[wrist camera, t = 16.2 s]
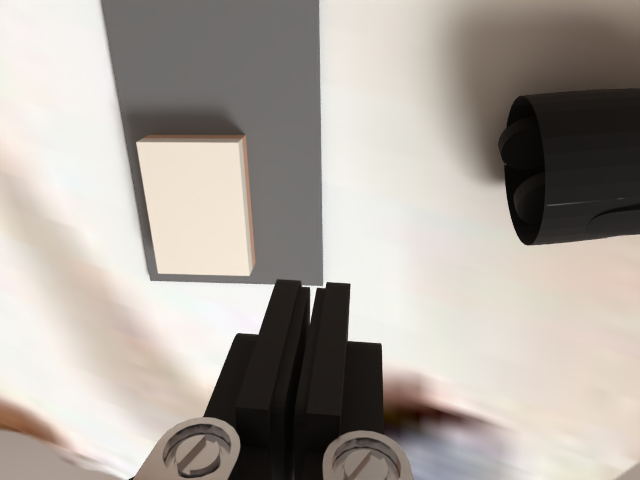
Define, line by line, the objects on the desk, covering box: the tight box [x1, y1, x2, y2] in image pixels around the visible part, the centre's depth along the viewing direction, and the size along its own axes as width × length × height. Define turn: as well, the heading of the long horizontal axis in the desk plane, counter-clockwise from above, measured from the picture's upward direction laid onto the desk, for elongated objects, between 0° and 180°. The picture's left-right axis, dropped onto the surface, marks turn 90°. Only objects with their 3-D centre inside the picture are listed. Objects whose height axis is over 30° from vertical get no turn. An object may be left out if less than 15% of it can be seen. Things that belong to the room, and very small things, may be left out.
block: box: [136, 135, 255, 276], centre depth 37 cm, size 10×2×7 cm
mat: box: [102, 0, 323, 286], centre depth 36 cm, size 26×14×1 cm, turn 1°
